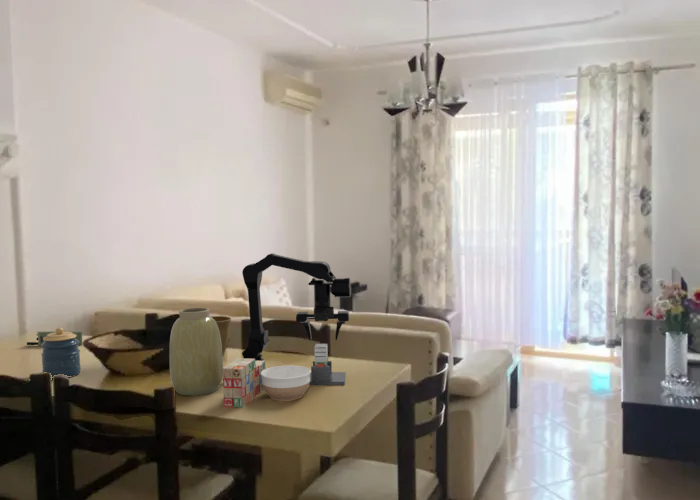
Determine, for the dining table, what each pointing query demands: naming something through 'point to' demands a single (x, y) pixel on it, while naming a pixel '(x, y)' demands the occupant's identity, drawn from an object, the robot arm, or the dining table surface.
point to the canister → (61, 353)
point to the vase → (195, 353)
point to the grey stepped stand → (326, 375)
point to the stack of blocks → (242, 381)
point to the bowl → (286, 382)
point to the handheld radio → (44, 333)
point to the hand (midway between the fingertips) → (323, 340)
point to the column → (321, 354)
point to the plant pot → (223, 330)
